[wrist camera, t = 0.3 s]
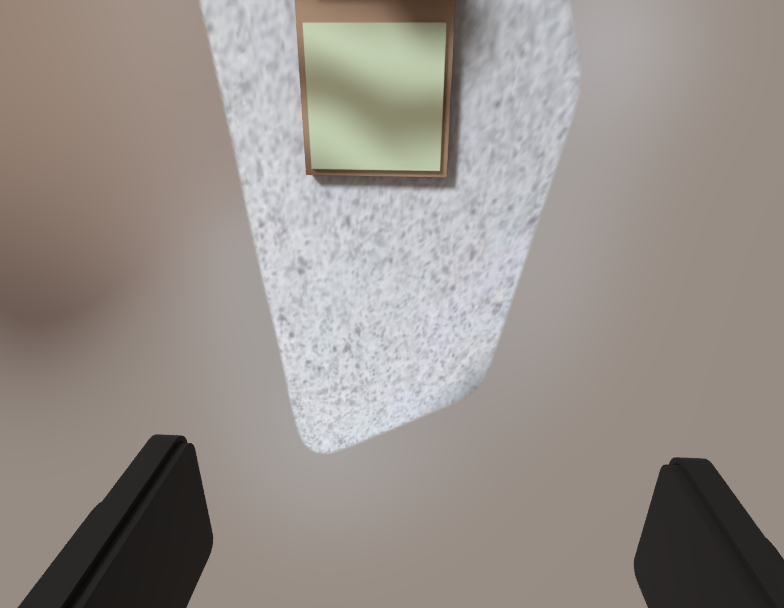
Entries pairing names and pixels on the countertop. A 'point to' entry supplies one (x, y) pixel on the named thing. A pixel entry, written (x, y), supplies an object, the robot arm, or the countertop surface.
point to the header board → (375, 86)
